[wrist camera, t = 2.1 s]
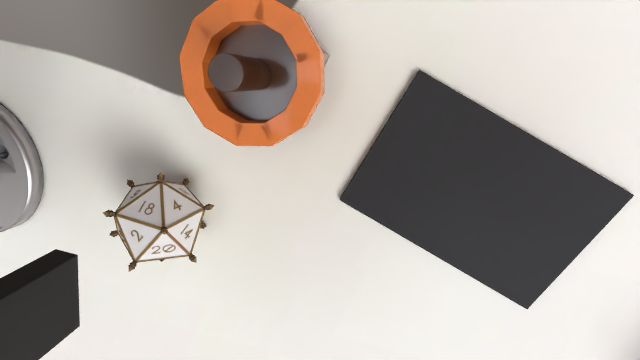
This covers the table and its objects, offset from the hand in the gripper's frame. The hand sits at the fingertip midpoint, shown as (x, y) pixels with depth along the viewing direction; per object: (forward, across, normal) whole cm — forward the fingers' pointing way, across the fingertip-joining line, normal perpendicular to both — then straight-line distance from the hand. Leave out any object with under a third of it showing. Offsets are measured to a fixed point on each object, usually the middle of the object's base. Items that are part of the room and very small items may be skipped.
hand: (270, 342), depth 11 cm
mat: (+22, +12, 0) cm, 25 cm away
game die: (+22, -15, -7) cm, 28 cm away
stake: (+22, -8, +7) cm, 24 cm away
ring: (+19, -8, +7) cm, 22 cm away
